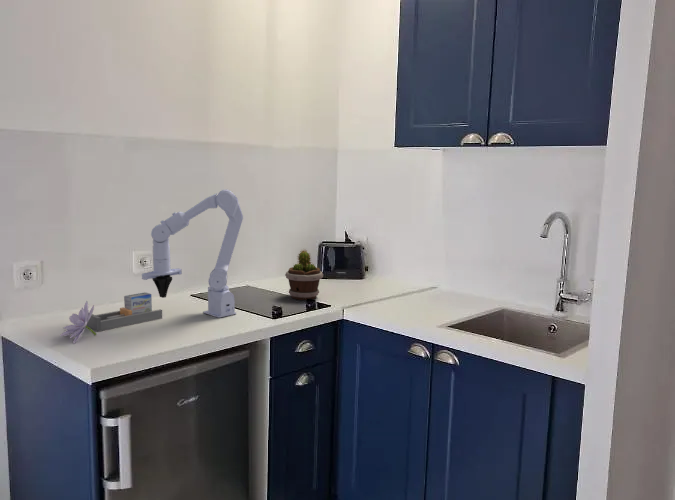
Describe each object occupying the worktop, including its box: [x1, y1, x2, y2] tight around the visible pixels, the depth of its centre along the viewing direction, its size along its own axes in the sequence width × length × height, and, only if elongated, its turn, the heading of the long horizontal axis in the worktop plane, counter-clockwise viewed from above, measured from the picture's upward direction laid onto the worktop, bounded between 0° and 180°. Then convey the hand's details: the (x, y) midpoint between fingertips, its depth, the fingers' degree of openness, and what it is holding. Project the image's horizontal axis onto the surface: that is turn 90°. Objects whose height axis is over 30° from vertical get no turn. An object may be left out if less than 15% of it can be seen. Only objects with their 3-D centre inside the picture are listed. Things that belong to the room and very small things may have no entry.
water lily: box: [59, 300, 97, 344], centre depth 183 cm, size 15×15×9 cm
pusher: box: [107, 307, 132, 319], centre depth 198 cm, size 6×7×4 cm
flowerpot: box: [284, 249, 324, 301], centre depth 240 cm, size 14×15×20 cm
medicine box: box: [123, 292, 153, 315], centre depth 203 cm, size 8×4×9 cm, turn 140°
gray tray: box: [86, 309, 163, 332], centre depth 200 cm, size 9×23×4 cm, turn 138°
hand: (162, 297), depth 210 cm, fingers closed
